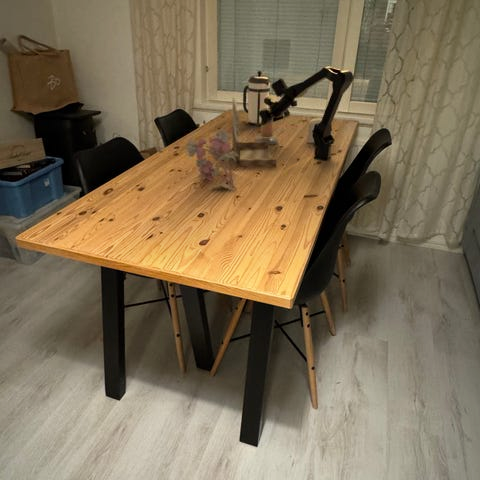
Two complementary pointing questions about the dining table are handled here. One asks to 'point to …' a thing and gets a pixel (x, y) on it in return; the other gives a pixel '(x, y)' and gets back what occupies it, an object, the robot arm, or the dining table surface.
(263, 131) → the tan tapered cylinder
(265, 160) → the cold frame
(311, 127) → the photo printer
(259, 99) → the coffee press
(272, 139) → the grey plate
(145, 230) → the dining table surface
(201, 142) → the flower
